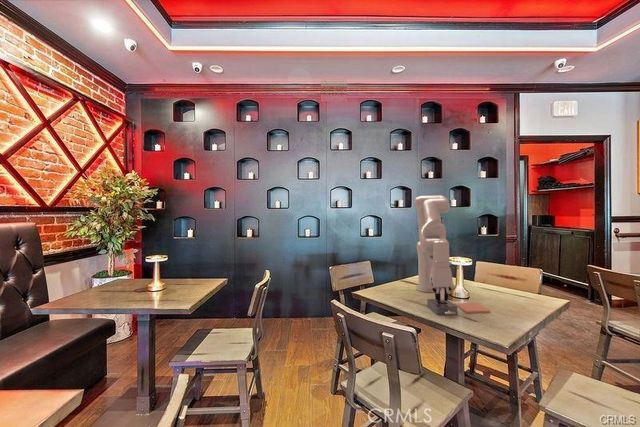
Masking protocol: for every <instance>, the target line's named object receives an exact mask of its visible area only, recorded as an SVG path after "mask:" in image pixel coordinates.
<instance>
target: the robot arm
mask: <svg viewBox="0 0 640 427" xmlns="http://www.w3.org/2000/svg"><path fill="white" fill-rule="evenodd" d="M414 208H415V211H416V213H417V214H416V215H417V217H418V218H417V220H418V223H417V224H418V225H417V226H418V235H419V236H418V238H419V241H417V243H416V253H417V262H418V268H417V269H418V271H417V272H418V273H417V274H418V285H417V286H416V287H415V290H417V291H419V292H423V293H434V299H436V300H437V301H440V294H439V287H445V301H447V300H449V293H450V291H452V289H455V287H456V285H455V284H454V282H453V273H452V272H453V271H452V268H451V267H450V266H451V265H452V264H453V263H452V261H450V243H449V241H448V239H447V232H446V230H447V229H446V226H445V225H444V223H442V217H441V214H444V213H445V214H447V213H449V212H450V209H451V205H450V201H449V200H448V198H447V197H445V196H444V195H440V194H439V195H437V194H435V195H419V196H417V197H415V199H414ZM431 256H433V257H431Z"/></svg>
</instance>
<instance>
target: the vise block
mask: <svg viewBox="0 0 640 427" xmlns="http://www.w3.org/2000/svg"><path fill="white" fill-rule="evenodd" d="M426 307H427V308H428V309H429V310H431V311H432V312H433V313H434V314H435V315H436V316H447V315H448V316H450V315H451V316H452V315H456V316H457V315H458V307H457V306H456V305H455V304H454V303H453V302H451V301H450V300H449V299H447V301H445V304H438V301H437V300H436V299H435V298H427V299H426Z"/></svg>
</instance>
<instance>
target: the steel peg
mask: <svg viewBox="0 0 640 427" xmlns="http://www.w3.org/2000/svg"><path fill="white" fill-rule="evenodd" d="M439 294H440V301H438V304H445V287H439Z"/></svg>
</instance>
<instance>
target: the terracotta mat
mask: <svg viewBox="0 0 640 427" xmlns="http://www.w3.org/2000/svg"><path fill="white" fill-rule="evenodd" d="M453 304H455V305H456V306H457V309H459V310H461V311H462V312H464V313H465V314H489V313H491V310H490V309H488V308H486V307H485V306H483V305H482V304H480V303H478V302H458V303H457V302H454V303H453Z"/></svg>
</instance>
